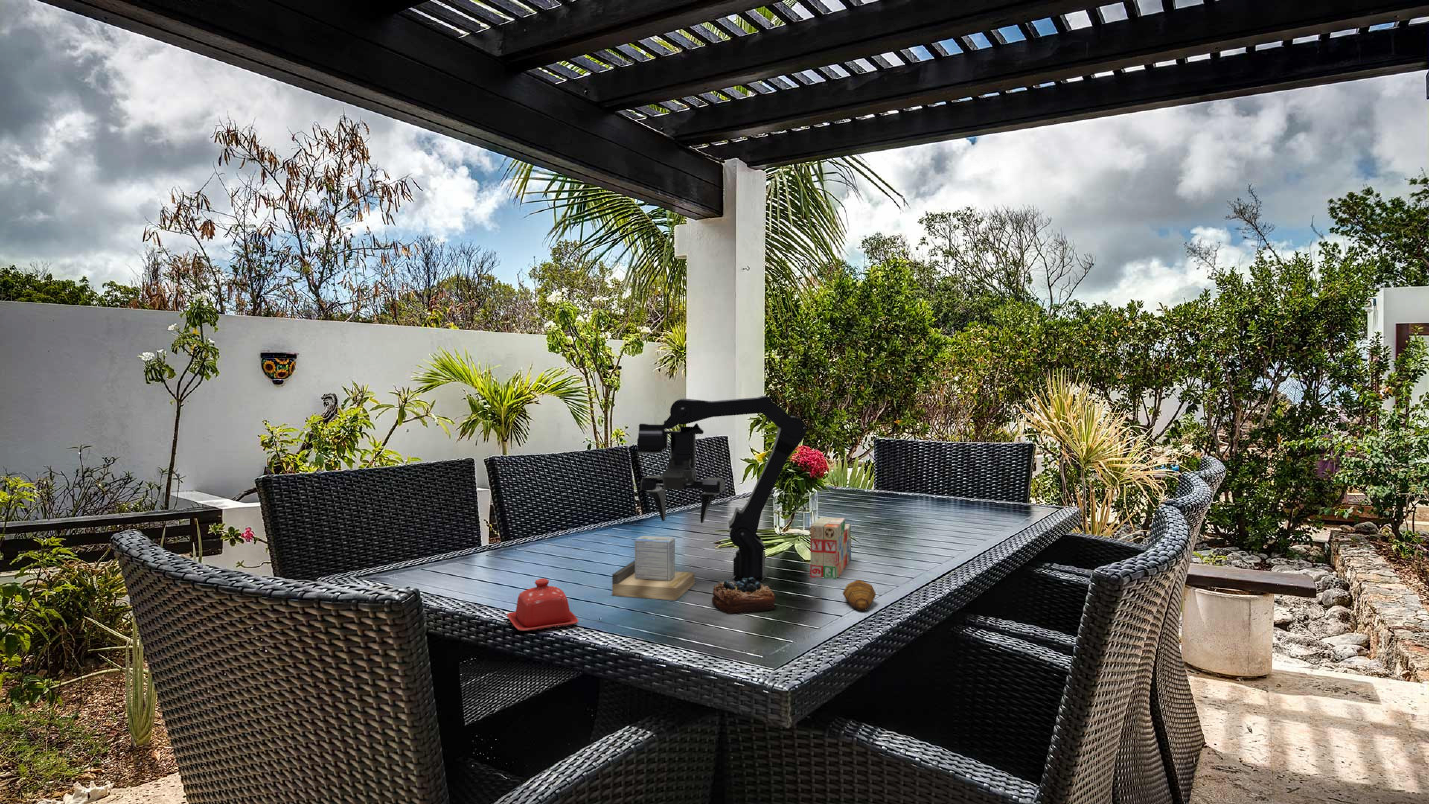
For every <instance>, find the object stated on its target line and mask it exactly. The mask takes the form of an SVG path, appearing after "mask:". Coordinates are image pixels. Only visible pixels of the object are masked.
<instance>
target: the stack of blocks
mask: <svg viewBox="0 0 1429 804" xmlns="http://www.w3.org/2000/svg"><path fill="white" fill-rule="evenodd" d="M851 526H852V525H851V524H850V523H846V518H845V517H828V516H820V517H819V518H818V519H817V520H816V521H815V522H813V523H812V524H811V525H810V542H809V545H810V546H809V547H810V549H809V550H810V553H809V554H810V560H809V562H810V565H809V577H810V578H815V577H824V578H823V579H828V578H833V579H832V580H837V579H838V578H837V577H840V576H841V575H842V573H843V572H844V570H845V569H846V567H845V566H847V565H849V563H850V562H851V561H852V535H851V533H852V532H851V531H852V528H851ZM843 569H844V570H843ZM842 571H843V572H842ZM839 575H840V576H839Z"/></svg>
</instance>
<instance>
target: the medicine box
mask: <svg viewBox="0 0 1429 804" xmlns="http://www.w3.org/2000/svg"><path fill="white" fill-rule="evenodd" d="M634 561H635V579H651V580H666V581H669V580H671V579H672V578H673V577H674V576H675V571H676V539H675V537H670V536H656V535H655V536H653V535H641V536H638V537H637V538H636V539H634Z"/></svg>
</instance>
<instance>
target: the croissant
mask: <svg viewBox="0 0 1429 804" xmlns="http://www.w3.org/2000/svg"><path fill="white" fill-rule="evenodd" d="M842 595H843V597H844V598H845V600H846V602H847V603H848V604H849V605H850V606H851V607H852V609H855V610H857V611H861V612H864V611H867V610H868V609H869V608H870V607H871V605H872V603H873V601H874V599H875V597H876V595H877V593H876V591H875V589H874V587H873V585H872V584H870V583H868V582H865V581H862V580H860V579H857V580H855V581H853V582H850V583H847V585H846V586H845V588H844V590H843V592H842Z"/></svg>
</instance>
